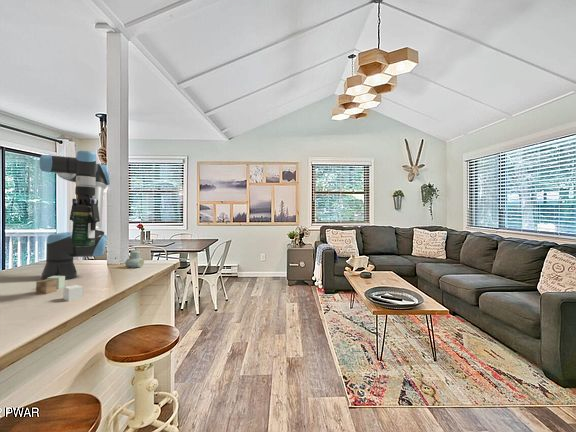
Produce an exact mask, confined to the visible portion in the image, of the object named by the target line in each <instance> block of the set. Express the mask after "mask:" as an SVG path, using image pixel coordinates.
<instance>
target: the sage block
mask: <svg viewBox="0 0 576 432" xmlns="http://www.w3.org/2000/svg"><path fill="white" fill-rule="evenodd" d="M47 279H49V280H57V287H56V290H60V289H61V288H64V287H66V286H65V285H66V279H65V276H51V277H48V278H47Z"/></svg>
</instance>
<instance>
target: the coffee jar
mask: <svg viewBox="0 0 576 432" xmlns="http://www.w3.org/2000/svg"><path fill="white" fill-rule="evenodd" d="M91 212H92V211H91V206H86V205H83V204H82V205H76V206H74V207H73V221H72V231H71V232H72V241H71V245H72V246H76V247H89V246H93V245H95V238H88V222H89V213H91Z"/></svg>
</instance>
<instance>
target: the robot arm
mask: <svg viewBox="0 0 576 432" xmlns="http://www.w3.org/2000/svg"><path fill="white" fill-rule="evenodd" d="M38 164H39V169H40V171H41V172H45V173H55V174H56V175H57V176H58V178H60V179H63V180H65V181H68V182H72V183H75V185H76V186H75V190H74V191H75V192H74V193H75V195H76V196H77V197H76V198H72V200H71V201H72V205H71V210H70V215H69V220H70V221H72V222H73V207H74V206H76V205H82V204H83V205H86V206H91V211H92V212H91V213H89V222H88V238H95V245H93V246H89V247H76V246H72V245H71V241H72V231H67V232H58V233H53V234H52V233H51V234H49V235H47V238H46V252H45V253H46V258H45V259H46V260H45V266H44V268H43V270H42V273H41V280H46V279H47V278H48V277H51V276H65V280H71V279H74V278H77V276H78V273H77V272H78V271H77V269H76V266H75V263H74V258H83V257H84V258H86V257H87V258H88V257H89V258H90V257H92V258H94V257H102V256H103V255H104V254H105V251H106V246H107V240H108V235H107V234H105V231H104V230H103V229H102V226H103V225H102V223H103V206H104V190H106V189H107V186H109V185H110V184H111V183H110V173H109V172H110V171H109V167H108V165H106V164H103V163H102V164H101V163H98V162H97V153H96V152H94V151H90V150H78V151H77V152H76V157H72V156H71V157H70V156H61V155H53V154H42V155H40V157H39V162H38Z"/></svg>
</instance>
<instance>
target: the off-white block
mask: <svg viewBox="0 0 576 432" xmlns="http://www.w3.org/2000/svg"><path fill="white" fill-rule="evenodd" d="M83 289H84V287H83V286H82V285H80V284H74V285H73V284H72V285H67V286H65V287H63V293H62V295H63V297H62V299H63V300H64V301H68V302H73V301H79V300H83V299H84V297H83V295H84V293H83V292H84V290H83Z"/></svg>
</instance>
